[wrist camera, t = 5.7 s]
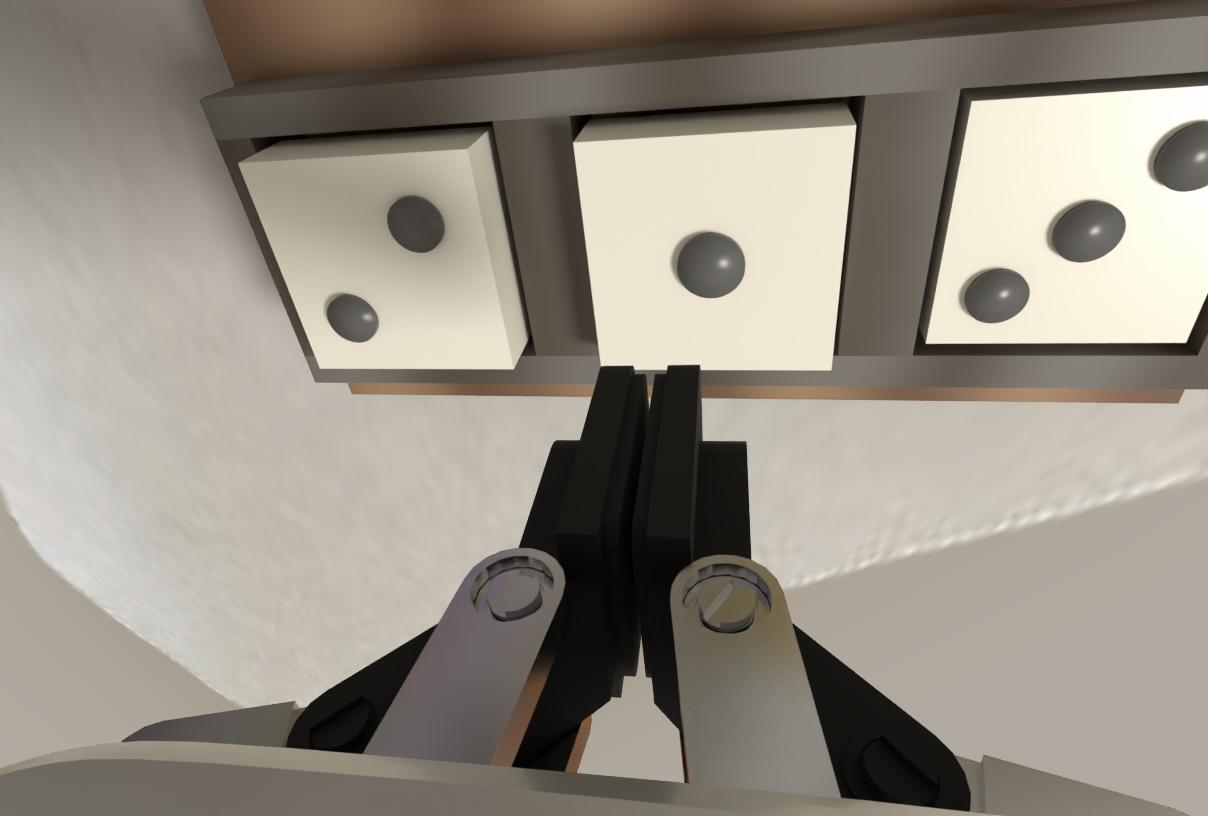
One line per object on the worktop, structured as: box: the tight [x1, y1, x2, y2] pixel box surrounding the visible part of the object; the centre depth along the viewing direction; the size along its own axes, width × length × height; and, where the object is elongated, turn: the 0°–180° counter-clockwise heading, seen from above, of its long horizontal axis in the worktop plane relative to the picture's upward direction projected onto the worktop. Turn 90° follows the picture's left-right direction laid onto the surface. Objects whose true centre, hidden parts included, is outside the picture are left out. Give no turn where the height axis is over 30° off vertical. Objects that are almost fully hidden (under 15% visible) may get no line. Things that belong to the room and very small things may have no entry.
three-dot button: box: [918, 71, 1208, 344], centre depth 17 cm, size 6×6×2 cm
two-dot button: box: [238, 126, 531, 369], centre depth 19 cm, size 6×6×2 cm
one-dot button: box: [573, 102, 856, 370], centre depth 17 cm, size 6×6×2 cm
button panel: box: [199, 0, 1208, 403], centre depth 19 cm, size 27×13×4 cm, turn 96°
